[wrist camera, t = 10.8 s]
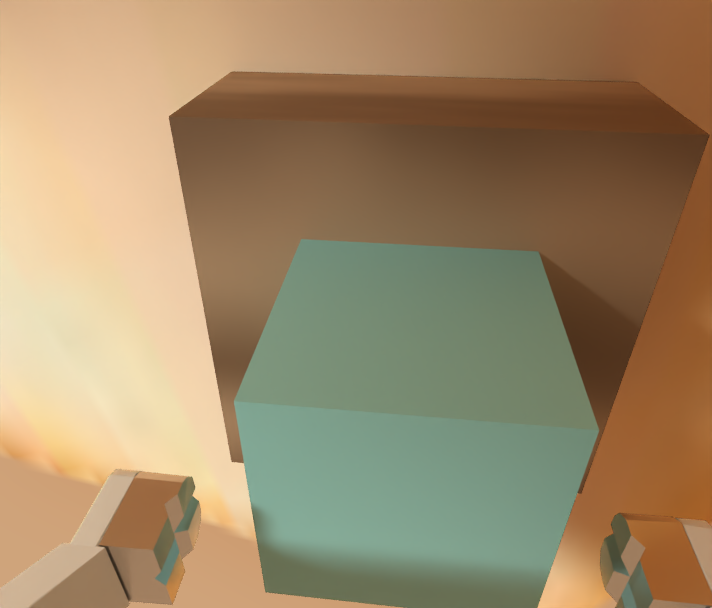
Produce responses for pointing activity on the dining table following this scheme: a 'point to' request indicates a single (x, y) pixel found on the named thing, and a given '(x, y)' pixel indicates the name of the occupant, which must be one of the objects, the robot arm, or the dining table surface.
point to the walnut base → (435, 194)
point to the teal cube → (413, 427)
